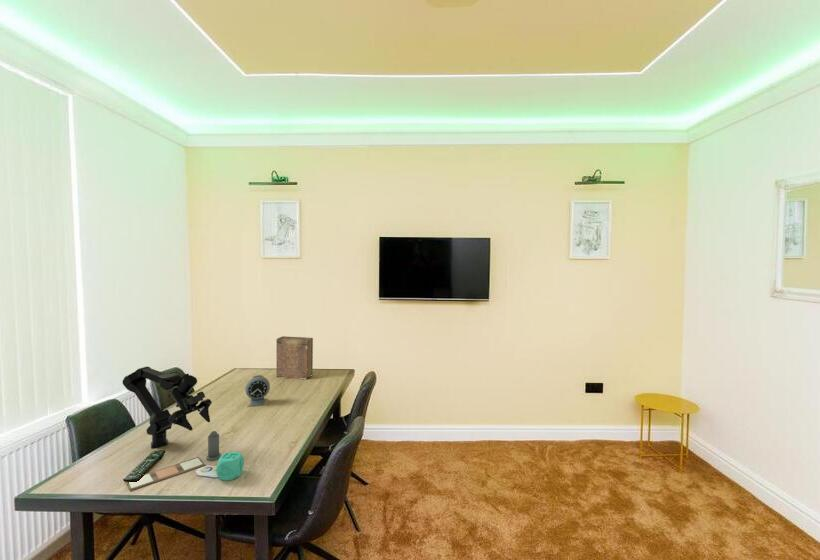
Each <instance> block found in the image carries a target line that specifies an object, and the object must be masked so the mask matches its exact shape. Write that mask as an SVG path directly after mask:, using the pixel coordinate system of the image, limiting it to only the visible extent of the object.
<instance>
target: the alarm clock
mask: <svg viewBox="0 0 820 560" xmlns="http://www.w3.org/2000/svg"><path fill="white" fill-rule="evenodd" d="M270 389H271V385H270V381H269V379H268V378H267V377H265V376H264V375H263V374H255V375H253V376H252V377H251V378H250V379H248V380H247V381H246V383H245V386H244V391H245V394H246V396H247V397H248V398H250V399H249V400H246V408H252V407H253V408H254V407H260V406H269V405H270V403H269V399H268V398H265V397H266V396H267V395H268V394H269V392H270Z"/></svg>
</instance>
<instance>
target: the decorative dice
mask: <svg viewBox="0 0 820 560" xmlns="http://www.w3.org/2000/svg"><path fill="white" fill-rule="evenodd" d="M217 460H218V461H217V464H216V473H215V474H216V476H217V478H219V479H220V480H222V481H225V482H227V481H232V480H235V479H237V478H239V477H240V476H241V474H242V473H243V469H244V466H245V465H244V464H245V458H244V456H243V454H242V453H241V452H239V451H229V452H225V453H224V454H221V457H220V458H219V459H217Z"/></svg>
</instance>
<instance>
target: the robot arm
mask: <svg viewBox="0 0 820 560" xmlns="http://www.w3.org/2000/svg"><path fill="white" fill-rule="evenodd" d="M147 380H149V381H150V382H151V381H152V382H155V383H156V384H158V385H159V387H160V388H161V389H163V390H165V391H169V392H168V398H173V400H174V401H175V404H176V405H175V407H176V408H179V409H178V410H175V411H174V412H172V414H171V413H170V411H169V410H168V409H165V410H163V409H161V407H160V406H159V404H158V403H157V401H156V399H155V398H154V397H153V395H152V393H151V392H150V391H149V389H148V388H147ZM197 383H198V378H197V377H196V376H194V375H192V374H189V373H185V374H182V376H180V374H178V373H165V372H162V371H159V370H156V369H154V368H151V367H150V366H144V367H140V368H138V369H136V370H135V371H134V372H131V373H130V374H128V375H126V376H124V378H123V379H122V385H123V387H125V389H126V390H128V391H129V392H130V393H131V392H132V393H134V394H135V396H136V397H137V399H138V400H139V402H140V404H141V405H142V406H143V408H144V410H145V411H146V413H147V414H148V415H149V423H148V424H149V426H148V427H147V428H146V435H149V436H151V441H150V448H151V449H155V448H160V447H164V446H168V441H169V440H168V438H167V431H168V430H171V428H172V426H173V425H176V426H180V427H182V428H184V429H186V430H189V431H193V427H192V424H191V423H190V422H189V420H188V418H187V415H189V414H191V413H194V412H196V411H197V412H198V414H199V415H200V416H201V417H202V419H204V420H205V421H206V422H207V423H210V422H211V418H210V412H209V409H210V407H211V404H212V403H213V402H212V401H211V399H210V398H207V399H205V397H206V394H205V392H204V391H199V392H197V393H196V395H195V396H193V395H192V394H191V395H190V394H189V392H191V390H192V389H193V388H194V387H195V386H196V385H197ZM199 402H200V403H199Z"/></svg>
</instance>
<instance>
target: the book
mask: <svg viewBox="0 0 820 560" xmlns="http://www.w3.org/2000/svg"><path fill="white" fill-rule="evenodd" d="M313 349H314V338H313V337H305V336H303V337H302V336H285V335H284V336H283V335H282V336H280V337H278V338H276V378H278V377H287V378H286V379H291V378H306V379H308V380H309V378H310V377H312V376H313V373H314V372H313V370H314V369H313V367H314V366H313V365H314V364H313V363H314V362H313V361H314V360H313V358H314V353H313V352H314V350H313ZM311 375H312V376H311ZM308 377H309V378H308Z"/></svg>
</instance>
